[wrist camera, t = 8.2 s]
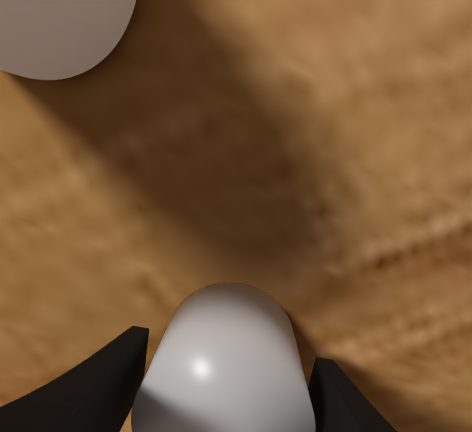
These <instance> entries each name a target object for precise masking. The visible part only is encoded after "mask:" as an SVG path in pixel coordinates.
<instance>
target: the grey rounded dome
mask: <svg viewBox="0 0 472 432" xmlns="http://www.w3.org/2000/svg"><path fill="white" fill-rule="evenodd" d="M131 426H132V432H315V417H314V412H313V408H312V404H311V400H310V396H309V392H308V388H307V384H306V380H305V376H304V372H303V368H302V363H301V359H300V355H299V351H298V347H297V343H296V339H295V335H294V331H293V328H292V324H291V322H290V319H289V317H288V315H287V314H286V312H285V311H284V309H283V308H282V307H281V305H280V304H279V303H278V302H277V301H276V300H275V299H273V298H272V297H271V296H270V295H268V294H267V293H265V292H263V291H261V290H259V289H257V288H255V287H252V286H249V285H245V284H240V283H219V284H213V285H210V286H206V287H204V288H201V289H199V290H197V291H195V292H194V293H192V294H191V295H189V296H188V297H187V298H186V299H185V300H184V301H183V302H182V303H181V304H180V305H179V306H178V308H177V309H176V310H175V312H174V314H173V316H172V318H171V320H170V322H169V324H168V327H167V329H166V331H165V333H164V335H163V338H162V340H161V342H160V344H159V346H158V348H157V351H156V353H155V355H154V357H153V359H152V361H151V364H150V366H149V368H148V370H147V372H146V374H145V377H144V379H143V381H142V383H141V385H140V388H139V390H138V392H137V394H136V397H135V400H134V403H133V407H132V413H131Z"/></svg>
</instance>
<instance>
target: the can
mask: <svg viewBox="0 0 472 432" xmlns="http://www.w3.org/2000/svg"><path fill="white" fill-rule="evenodd" d="M135 3H136V0H0V70H2V71H5V72H8V73H12V74H15V75H19V76H22V77H27V78H31V79H38V80H60V79H65V78H70V77H73V76H76V75H79V74H81V73H83V72H86V71H87V70H89V69H91V68H93V67H94V66H96V65H97V64H98V63H100V62H101V61H102V60H103V59H104V58H105V57H106V56H107V55H108V54H109V53H110V52H111V51H112V50H113V49H114V47H115V46H116V45H117V43H118V42H119V41H120V39H121V37H122V36H123V34H124V32H125V30H126V28H127V26H128V23H129V21H130V18H131V16H132V13H133V10H134V7H135Z"/></svg>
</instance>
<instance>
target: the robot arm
mask: <svg viewBox="0 0 472 432" xmlns="http://www.w3.org/2000/svg"><path fill="white" fill-rule="evenodd" d="M148 335H149V328H143V327H137V326H132V327H130V328H129V329H128V330H126V331H125V332H123V333H122V334H121V335H119V336H118V337H117V338H115V339H114V340H113V341H111V342H110V343H109V344H107V345H106V346H105V347H103V348H102V349H100V350H99V351H98V352H96V353H95V354H93V355H92V356H90V357H89V358H88V359H86V360H85V361H83V362H82V363H80V364H79V365H77V366H75V367H74V368H72V369H71V370H69V371H68V372H66V373H64V374H63V375H61V376H60V377H58V378H56V379H55V380H53V381H51V382H49V383H48V384H46V385H44V386H42V387H40V388H38V389H36V390H35V391H33V392H31V393H29V394H27V395H25V396H23V397H21V398H19V399H17V400H15V401H13V402H10V403H8V404H6V405H4V406H2V407H0V432H120V430H121V428H122V426H123V424H124V422H125V420H126V418H127V416H128V414H129V412H130V410H131V408H132V406H133V403H134V400H135V397H136V394H137V392H138V390H139V388H140V385H141V383H142V380H143V377H144V371H145V362H146V353H147V344H148ZM308 392H309V396H310V400H311V404H312V408H313V412H314V417H315V432H397V431H396V430H395V429H394V428H393V427H392V426H391V425H390V424H389V423H388V422H387V421H386V420H385V419H384V418H383V417H382V415H381V414H380V413H379V412H378V411H377V410H376V409H375V408H374V407H373V406H372V405H371V403H370V402H369V401H368V400H367V399H366V398H365V397H364V396H363V394H362V393H361V392H360V391H359V390H358V389H357V387H356V386H355V385H354V384H353V383H352V382H351V380H350V379H349V378H348V377H347V376H346V375H345V373H344V372H343V371H342V370H341V369H340V368H339V366H338V365H337V364H336V363H335V362H334V361H333V360H330V359H324V358H318V357H316V359H315V363H314V367H313V371H312V375H311V379H310V383H309V387H308Z"/></svg>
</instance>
